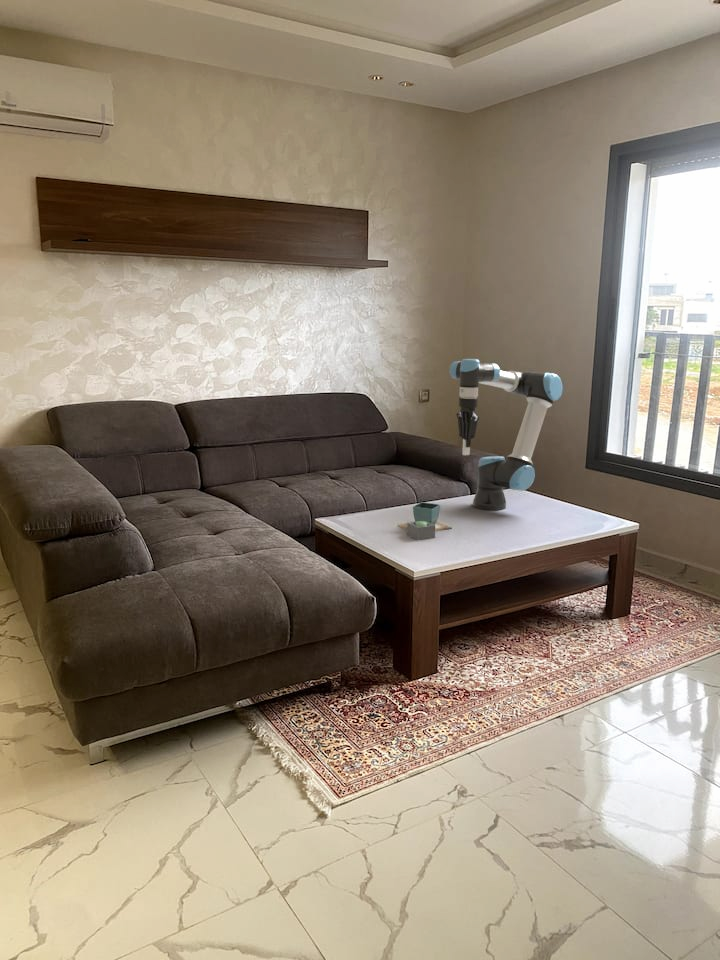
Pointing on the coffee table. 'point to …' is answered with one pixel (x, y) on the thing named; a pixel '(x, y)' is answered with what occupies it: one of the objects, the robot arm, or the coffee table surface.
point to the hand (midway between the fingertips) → (466, 454)
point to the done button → (421, 523)
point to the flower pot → (426, 512)
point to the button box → (420, 531)
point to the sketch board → (438, 526)
